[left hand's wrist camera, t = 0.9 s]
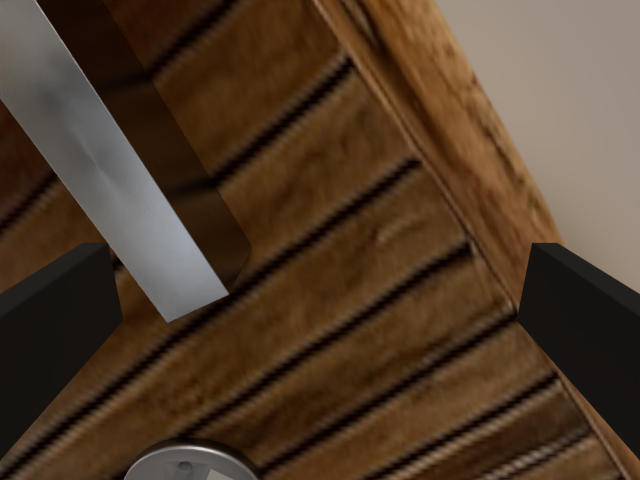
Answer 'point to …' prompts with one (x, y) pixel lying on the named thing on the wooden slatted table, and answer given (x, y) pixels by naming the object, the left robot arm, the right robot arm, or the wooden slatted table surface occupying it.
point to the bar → (118, 150)
